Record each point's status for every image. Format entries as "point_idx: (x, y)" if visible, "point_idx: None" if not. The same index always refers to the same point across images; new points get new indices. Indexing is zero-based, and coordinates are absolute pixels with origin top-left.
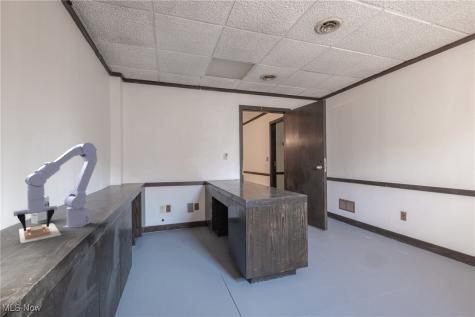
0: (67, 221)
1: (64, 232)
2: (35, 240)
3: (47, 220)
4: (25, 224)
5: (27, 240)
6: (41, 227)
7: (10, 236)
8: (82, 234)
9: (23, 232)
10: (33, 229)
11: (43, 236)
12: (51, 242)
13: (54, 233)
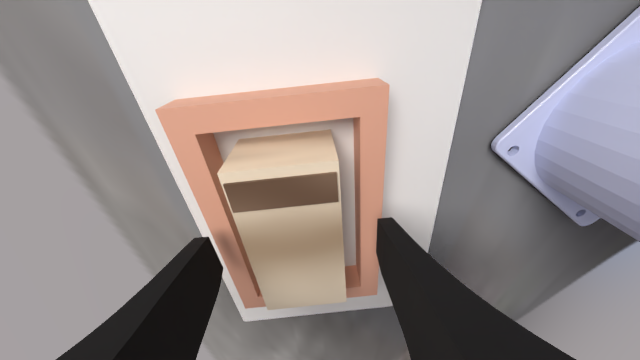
0: (587, 180)
1: (446, 261)
2: (302, 312)
3: (403, 321)
4: (197, 348)
5: None
6: (334, 279)
7: (71, 102)
8: None
9: (157, 64)
10: (279, 298)
11: None
12: (360, 349)
13: None
